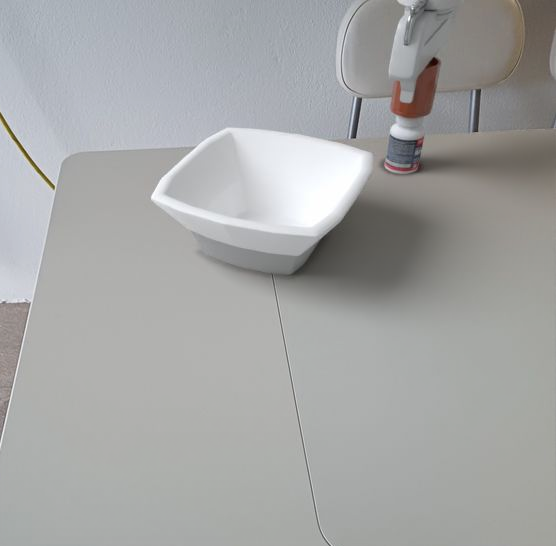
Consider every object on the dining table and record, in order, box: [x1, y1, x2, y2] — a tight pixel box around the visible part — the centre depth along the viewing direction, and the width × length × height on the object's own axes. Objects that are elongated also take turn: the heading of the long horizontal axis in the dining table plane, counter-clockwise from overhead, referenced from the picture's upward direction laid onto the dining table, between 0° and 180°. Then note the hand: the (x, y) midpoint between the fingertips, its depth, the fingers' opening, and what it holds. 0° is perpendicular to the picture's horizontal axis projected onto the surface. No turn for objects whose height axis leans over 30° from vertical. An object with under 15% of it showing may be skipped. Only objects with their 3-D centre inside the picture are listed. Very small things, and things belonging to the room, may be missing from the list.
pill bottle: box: [384, 114, 426, 175], centre depth 100 cm, size 5×5×9 cm
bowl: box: [150, 126, 375, 276], centre depth 86 cm, size 24×25×10 cm
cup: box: [389, 56, 442, 118], centre depth 94 cm, size 6×6×7 cm
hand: (414, 91), depth 95 cm, fingers closed on cup, 6 cm apart
